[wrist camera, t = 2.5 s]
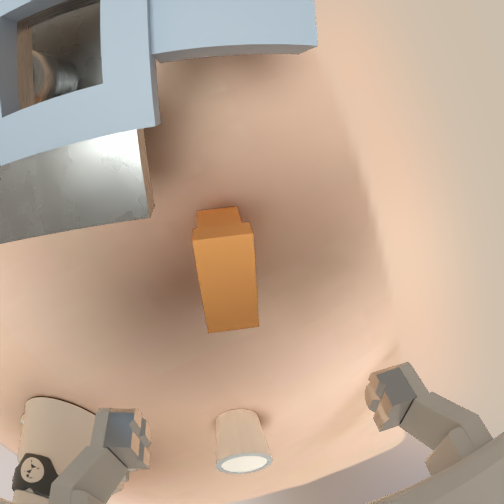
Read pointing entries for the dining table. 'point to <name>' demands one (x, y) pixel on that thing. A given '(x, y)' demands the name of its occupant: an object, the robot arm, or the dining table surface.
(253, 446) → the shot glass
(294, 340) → the dining table surface
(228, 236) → the orange t-shaped block
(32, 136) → the bracket
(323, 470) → the dining table surface
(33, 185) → the metal plate
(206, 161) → the dining table surface
